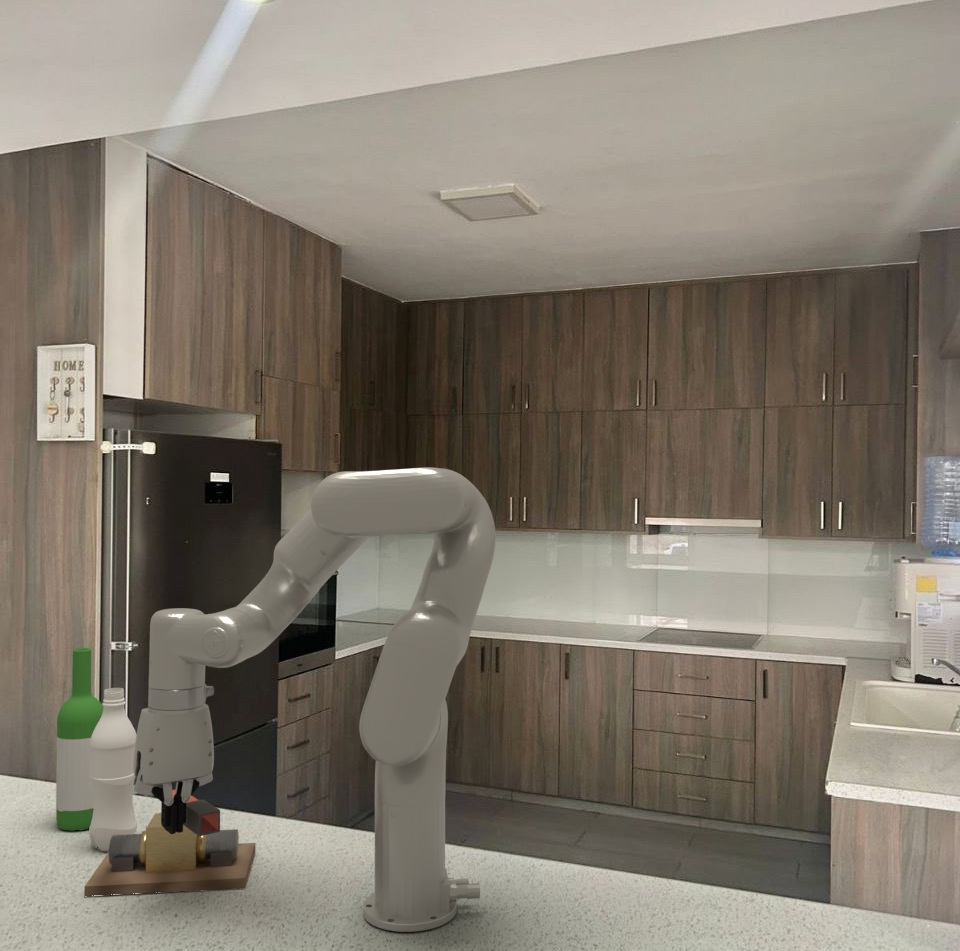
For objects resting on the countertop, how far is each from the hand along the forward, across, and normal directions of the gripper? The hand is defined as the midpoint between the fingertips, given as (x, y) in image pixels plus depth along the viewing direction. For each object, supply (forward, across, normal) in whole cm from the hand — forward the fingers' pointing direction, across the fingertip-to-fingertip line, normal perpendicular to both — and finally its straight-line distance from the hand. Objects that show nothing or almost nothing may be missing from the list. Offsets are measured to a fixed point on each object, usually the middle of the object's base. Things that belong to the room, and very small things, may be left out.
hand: (173, 830), depth 133 cm
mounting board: (+10, -4, -9) cm, 14 cm away
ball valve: (+8, -4, -9) cm, 13 cm away
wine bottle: (+10, +1, -40) cm, 41 cm away
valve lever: (+1, -4, -3) cm, 5 cm away
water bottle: (+10, 0, -26) cm, 28 cm away
